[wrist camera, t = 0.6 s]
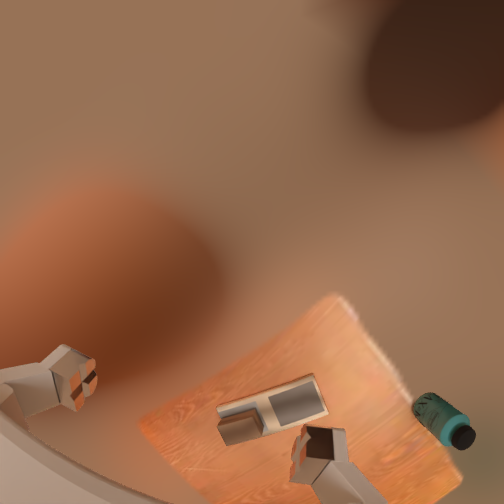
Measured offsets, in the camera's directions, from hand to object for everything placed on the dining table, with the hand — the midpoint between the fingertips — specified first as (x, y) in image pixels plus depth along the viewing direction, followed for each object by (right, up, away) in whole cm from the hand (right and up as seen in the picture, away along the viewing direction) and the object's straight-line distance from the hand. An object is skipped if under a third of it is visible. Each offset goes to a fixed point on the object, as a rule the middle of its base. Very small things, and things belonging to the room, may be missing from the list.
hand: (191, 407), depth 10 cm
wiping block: (0, -28, +43) cm, 51 cm away
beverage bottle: (+38, -26, +40) cm, 61 cm away
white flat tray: (+6, -25, +44) cm, 51 cm away
